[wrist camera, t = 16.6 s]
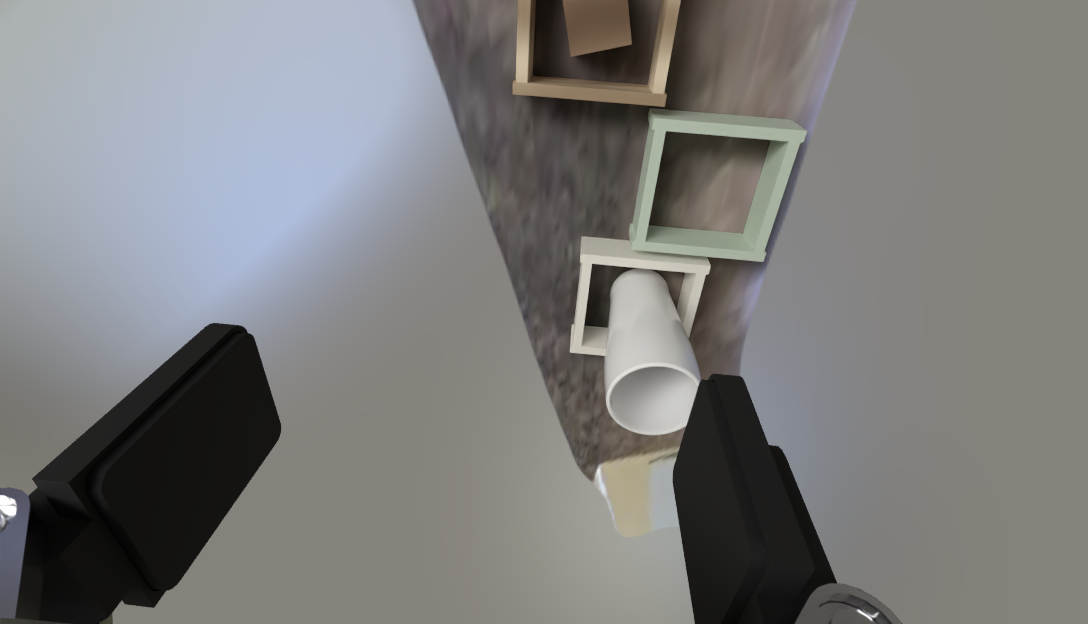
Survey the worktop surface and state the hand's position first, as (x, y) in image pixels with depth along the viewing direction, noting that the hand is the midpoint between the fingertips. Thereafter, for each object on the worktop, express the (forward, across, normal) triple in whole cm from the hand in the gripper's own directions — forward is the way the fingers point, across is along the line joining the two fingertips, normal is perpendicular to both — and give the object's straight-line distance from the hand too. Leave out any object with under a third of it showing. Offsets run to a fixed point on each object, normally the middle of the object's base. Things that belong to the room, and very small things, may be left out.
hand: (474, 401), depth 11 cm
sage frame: (+33, -12, +5) cm, 36 cm away
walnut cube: (+33, -2, -6) cm, 34 cm away
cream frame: (+33, -8, +16) cm, 38 cm away
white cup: (+34, -8, +16) cm, 38 cm away
